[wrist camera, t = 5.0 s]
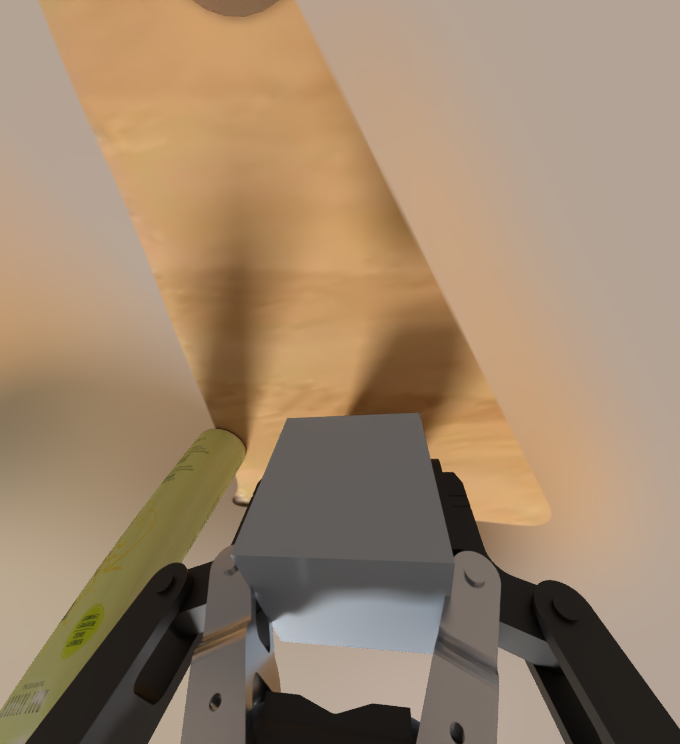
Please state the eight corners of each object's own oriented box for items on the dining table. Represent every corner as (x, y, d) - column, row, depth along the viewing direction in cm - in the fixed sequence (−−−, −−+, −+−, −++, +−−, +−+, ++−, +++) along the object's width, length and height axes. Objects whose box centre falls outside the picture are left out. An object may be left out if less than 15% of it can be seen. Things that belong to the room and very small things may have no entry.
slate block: (310, 501, 15) (281, 641, 10) (287, 418, 12) (230, 555, 7) (419, 501, 14) (444, 655, 9) (419, 412, 11) (455, 563, 6)
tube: (197, 416, 26) (-128, 767, 9) (249, 429, 27) (19, 802, 9) (199, 458, 29) (-51, 790, 12) (246, 469, 29) (63, 817, 12)
